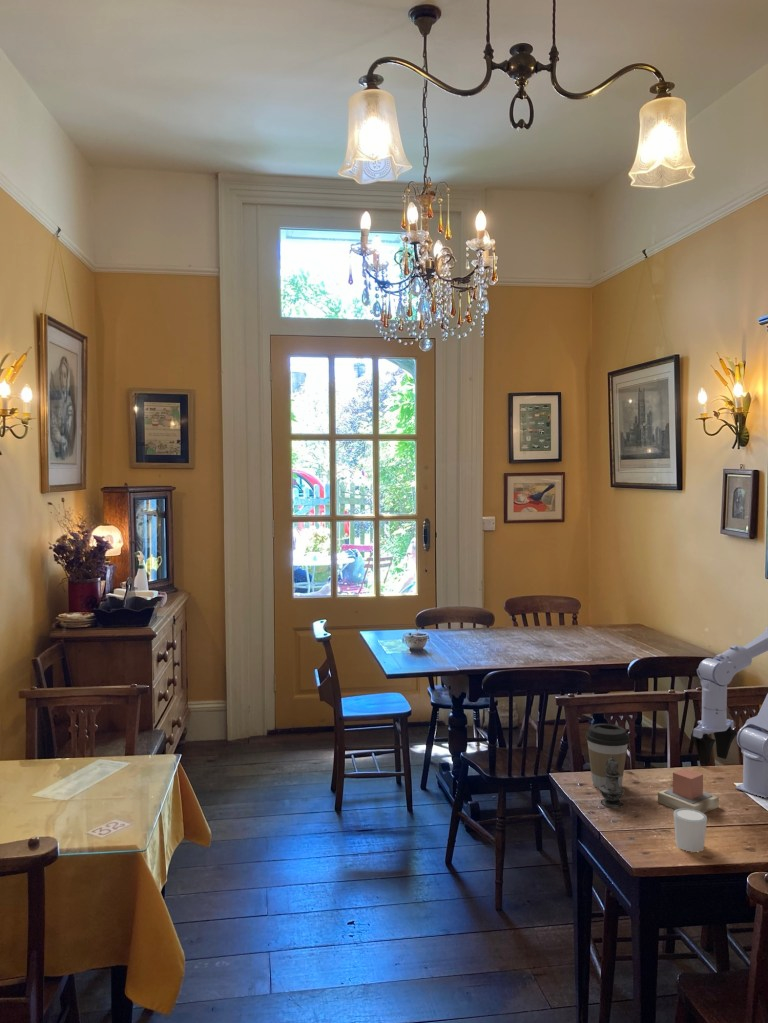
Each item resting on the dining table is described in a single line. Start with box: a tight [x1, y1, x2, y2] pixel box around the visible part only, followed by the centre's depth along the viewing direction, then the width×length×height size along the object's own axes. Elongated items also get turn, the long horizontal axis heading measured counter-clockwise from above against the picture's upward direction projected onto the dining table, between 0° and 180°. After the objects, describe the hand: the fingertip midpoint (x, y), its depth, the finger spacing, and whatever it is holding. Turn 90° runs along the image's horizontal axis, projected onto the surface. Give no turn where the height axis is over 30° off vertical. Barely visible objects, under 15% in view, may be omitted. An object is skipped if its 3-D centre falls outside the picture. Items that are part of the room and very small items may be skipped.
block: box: [672, 767, 704, 799], centre depth 183 cm, size 5×5×5 cm
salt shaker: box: [599, 755, 625, 809], centre depth 184 cm, size 6×6×12 cm
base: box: [657, 786, 720, 814], centre depth 183 cm, size 10×10×3 cm
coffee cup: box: [584, 723, 631, 790], centre depth 195 cm, size 11×11×15 cm
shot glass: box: [673, 809, 708, 853], centre depth 162 cm, size 7×7×7 cm
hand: (713, 760), depth 187 cm, fingers open, 7 cm apart
